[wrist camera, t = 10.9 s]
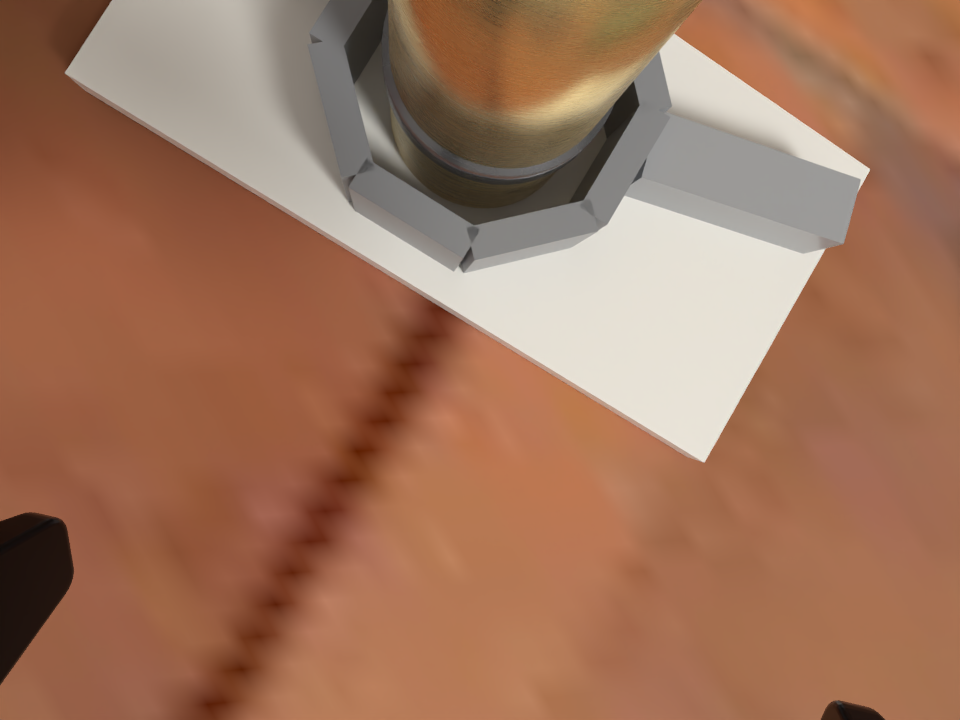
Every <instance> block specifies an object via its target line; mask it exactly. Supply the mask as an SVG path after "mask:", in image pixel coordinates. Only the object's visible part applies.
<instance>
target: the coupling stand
mask: <svg viewBox="0 0 960 720" xmlns="http://www.w3.org/2000/svg"><path fill="white" fill-rule="evenodd" d="M387 10H388V0H112V1H111V3H110V4H109V6H108V7H107V9H106V10H105V12H104V13H103V15H102V16H101V18H100V20H99V21H98V23H97V24H96V26H95V27H94V29H93V30H92V32H91V33H90V35H89V36H88V38H87V39H86V41H85V43H84V44H83V46H82V47H81V49H80V50H79V52H78V53H77V55H76V56H75V58H74V59H73V61H72V62H71V64H70V66H69V67H68V69H67V70H66V72H65V74H66V75H67V76H69V77H70V78H71V79H72V80H73V81H74V82H76V83H77V84H78V85H79V86H80V87H81V88H83V89H84V90H85V91H86V92H88V93H90V94H91V95H93V96H95V97H96V98H98V99H99V100H101V101H103V102H104V103H106V104H108V105H109V106H111V107H113V108H114V109H116V110H118V111H119V112H121V113H122V114H124V115H126V116H127V117H129V118H131V119H132V120H134V121H136V122H137V123H139V124H141V125H142V126H144V127H145V128H147V129H149V130H150V131H152V132H154V133H155V134H157V135H159V136H160V137H162V138H164V139H165V140H167V141H169V142H170V143H172V144H173V145H175V146H177V147H178V148H180V149H182V150H183V151H185V152H187V153H188V154H190V155H192V156H193V157H195V158H196V159H198V160H200V161H201V162H203V163H205V164H206V165H208V166H210V167H211V168H213V169H215V170H216V171H218V172H219V173H221V174H223V175H224V176H226V177H228V178H229V179H231V180H233V181H234V182H236V183H238V184H239V185H241V186H243V187H244V188H246V189H247V190H249V191H251V192H252V193H254V194H256V195H257V196H259V197H261V198H262V199H264V200H266V201H267V202H269V203H270V204H272V205H274V206H275V207H277V208H279V209H280V210H282V211H284V212H285V213H287V214H289V215H290V216H292V217H293V218H295V219H297V220H298V221H300V222H302V223H303V224H305V225H307V226H308V227H310V228H312V229H313V230H315V231H317V232H318V233H320V234H321V235H323V236H325V237H326V238H328V239H330V240H331V241H333V242H335V243H336V244H338V245H340V246H341V247H343V248H344V249H346V250H348V251H349V252H351V253H353V254H354V255H356V256H358V257H359V258H361V259H363V260H364V261H366V262H367V263H369V264H371V265H372V266H374V267H376V268H377V269H379V270H381V271H382V272H384V273H386V274H387V275H389V276H390V277H392V278H394V279H395V280H397V281H399V282H400V283H402V284H404V285H405V286H407V287H409V288H410V289H412V290H414V291H415V292H417V293H418V294H420V295H422V296H423V297H425V298H427V299H428V300H430V301H432V302H433V303H435V304H437V305H438V306H440V307H441V308H443V309H445V310H446V311H448V312H450V313H451V314H453V315H455V316H456V317H458V318H460V319H461V320H463V321H464V322H466V323H468V324H469V325H471V326H473V327H474V328H476V329H478V330H479V331H481V332H483V333H484V334H486V335H488V336H489V337H491V338H492V339H494V340H496V341H497V342H499V343H501V344H502V345H504V346H506V347H507V348H509V349H511V350H512V351H514V352H515V353H517V354H519V355H520V356H522V357H524V358H525V359H527V360H529V361H530V362H532V363H534V364H535V365H537V366H538V367H540V368H542V369H543V370H545V371H547V372H548V373H550V374H552V375H553V376H555V377H557V378H558V379H560V380H562V381H563V382H565V383H566V384H568V385H570V386H571V387H573V388H575V389H576V390H578V391H580V392H581V393H583V394H585V395H586V396H588V397H589V398H591V399H593V400H594V401H596V402H598V403H599V404H601V405H603V406H604V407H606V408H608V409H609V410H611V411H612V412H614V413H616V414H617V415H619V416H621V417H622V418H624V419H626V420H627V421H629V422H631V423H632V424H634V425H636V426H637V427H639V428H640V429H642V430H644V431H645V432H647V433H649V434H650V435H652V436H654V437H655V438H657V439H659V440H660V441H662V442H663V443H665V444H667V445H668V446H670V447H672V448H673V449H675V450H677V451H678V452H680V453H682V454H683V455H685V456H687V457H689V458H692V459H695V460H698V461H701V462H705V460H706V459H707V457H708V455H709V453H710V452H711V450H712V448H713V446H714V445H715V443H716V441H717V439H718V437H719V436H720V434H721V432H722V430H723V429H724V427H725V425H726V423H727V422H728V420H729V418H730V416H731V415H732V413H733V411H734V409H735V407H736V406H737V404H738V402H739V400H740V399H741V397H742V395H743V393H744V392H745V390H746V388H747V386H748V385H749V383H750V381H751V379H752V377H753V376H754V374H755V372H756V370H757V369H758V367H759V365H760V363H761V362H762V360H763V358H764V356H765V355H766V353H767V351H768V349H769V347H770V346H771V344H772V342H773V340H774V339H775V337H776V335H777V333H778V332H779V330H780V328H781V326H782V325H783V323H784V321H785V319H786V317H787V316H788V314H789V312H790V310H791V309H792V307H793V305H794V303H795V302H796V300H797V298H798V296H799V295H800V293H801V291H802V289H803V287H804V286H805V284H806V282H807V280H808V279H809V277H810V275H811V273H812V272H813V270H814V268H815V266H816V265H817V263H818V261H819V259H820V257H821V256H822V254H823V252H824V250H825V249H826V248H829V247H833V246H837V245H841V244H844V240H845V237H846V233H847V229H848V226H849V222H850V218H851V215H852V211H853V207H854V203H855V200H856V196H857V192H858V190H859V189H860V187H861V185H862V183H863V182H864V180H865V178H866V176H867V175H868V173H869V171H870V169H869V168H868V167H866V166H865V165H863V164H862V163H860V162H859V161H857V160H856V159H854V158H853V157H852V156H850V155H849V154H847V153H846V152H844V151H843V150H841V149H840V148H839V147H837V146H836V145H834V144H833V143H831V142H830V141H828V140H827V139H826V138H824V137H823V136H821V135H820V134H818V133H817V132H815V131H814V130H812V129H811V128H810V127H808V126H807V125H805V124H804V123H802V122H801V121H799V120H798V119H797V118H795V117H794V116H792V115H791V114H789V113H788V112H786V111H785V110H784V109H782V108H781V107H779V106H778V105H776V104H775V103H773V102H772V101H771V100H769V99H768V98H766V97H765V96H763V95H762V94H760V93H759V92H757V91H756V90H755V89H753V88H752V87H750V86H749V85H747V84H746V83H744V82H743V81H742V80H740V79H739V78H737V77H736V76H734V75H733V74H731V73H730V72H729V71H727V70H726V69H724V68H723V67H721V66H720V65H718V64H717V63H716V62H714V61H713V60H711V59H710V58H708V57H707V56H705V55H704V54H702V53H701V52H700V51H698V50H697V49H695V48H694V47H692V46H691V45H689V44H688V43H687V42H685V41H684V40H682V39H681V38H679V37H678V36H676V35H675V34H673V35H672V37H671V38H670V39H669V40H668V41H667V42H666V44H665V45H664V46H663V47H662V48H661V49H660V51H659V52H658V53H657V54H656V55H655V56H654V58H653V59H652V60H651V61H650V62H649V64H648V65H647V66H646V67H645V68H644V69H643V71H642V72H641V73H640V74H639V75H638V76H637V78H636V79H635V80H634V81H633V82H632V83H631V85H630V86H629V87H628V88H627V89H626V90H625V92H624V93H623V94H622V95H621V96H620V97H619V99H618V100H617V101H616V102H615V104H614V106H613V109H612V111H611V113H610V115H609V117H608V119H607V120H606V122H605V124H604V126H603V127H602V128H601V129H600V131H599V132H598V133H597V135H596V136H595V137H594V138H593V140H592V141H591V142H590V143H589V144H588V145H587V146H586V147H585V148H584V149H583V150H582V151H581V152H580V153H579V154H578V155H577V156H576V157H575V158H574V159H573V160H572V161H571V162H569V163H568V164H567V165H565V166H564V167H563V168H561V169H559V170H557V171H556V172H555V174H554V175H553V176H552V177H551V178H550V179H549V180H548V181H547V182H546V183H545V184H544V185H543V186H542V187H541V188H540V189H539V190H537V191H536V192H535V193H533V194H532V195H530V196H529V197H527V198H525V199H523V200H521V201H519V202H516V203H514V204H511V205H507V206H503V207H497V208H473V207H466V206H462V205H459V204H455V203H452V202H450V201H448V200H446V199H443V198H441V197H440V196H438V195H436V194H435V193H433V192H432V191H430V190H429V189H428V188H426V187H425V186H424V185H423V184H422V183H421V182H420V181H419V180H418V179H417V178H416V177H415V176H414V175H413V174H412V173H411V171H410V170H409V169H408V167H407V166H406V164H405V163H404V161H403V159H402V157H401V156H400V154H399V151H398V149H397V146H396V144H395V141H394V137H393V133H392V127H391V120H390V103H389V100H388V97H387V93H386V89H385V84H384V77H383V67H382V35H383V27H384V21H385V17H386V14H387Z"/></svg>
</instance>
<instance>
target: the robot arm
mask: <svg viewBox="0 0 960 720" xmlns="http://www.w3.org/2000/svg"><path fill="white" fill-rule="evenodd" d="M73 574H74V567H73V561H72V555H71V549H70V543H69V537H68V531H67V527H66V525H65V523H64V522H63V521H62V520H61V519H59V518H56V517H52V516H48V515H43V514H39V513H32V512H29V513H24V514H20V515H17V516H14V517H12V518H9V519H6V520H3V521H0V685H1V683H2V682H3V681H4V679H5V678H6V676H7V675H8V674H9V672H10V671H11V669H12V668H13V667H14V665H15V664H16V662H17V661H18V660H19V658H20V657H21V655H22V654H23V653H24V651H25V650H26V648H27V647H28V646H29V644H30V643H31V641H32V640H33V639H34V637H35V636H36V634H37V633H38V632H39V630H40V629H41V627H42V626H43V625H44V623H45V622H46V620H47V619H48V618H49V616H50V615H51V613H52V612H53V611H54V609H55V608H56V606H57V605H58V604H59V602H60V601H61V599H62V598H63V597H64V595H65V594H66V592H67V591H68V589H69V587H70V585H71V582H72V579H73ZM821 720H885V719H884V718H883V717H882V716H881V715H880V714H879V713H878V712H876V711H875V710H873V709H871V708H869V707H865V706H861V705H856V704H852V703H848V702H844V701H833V702H831V703H830V704H829V705H828V706H827V708H826V709H825V711H824V714H823V716H822V718H821Z"/></svg>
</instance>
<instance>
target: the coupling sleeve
mask: <svg viewBox="0 0 960 720" xmlns="http://www.w3.org/2000/svg"><path fill="white" fill-rule="evenodd" d="M701 1H702V0H388V10H387V14H386V17H385V21H384V27H383V35H382V67H383V77H384V84H385V89H386V93H387V97H388V100H389V103H390V120H391V127H392V133H393V137H394V141H395V144H396V146H397V149H398V151H399V154H400V156H401V157H402V159H403V161H404V163H405V164H406V166H407V167H408V169H409V170H410V171H411V173H412V174H413V175H414V176H415V177H416V178H417V179H418V180H419V181H420V182H421V183H422V184H423V185H424V186H425V187H426V188H428V189H429V190H430V191H432V192H433V193H435V194H436V195H438V196H440V197H441V198H443V199H446V200H448V201H450V202H452V203H455V204H459V205H462V206H466V207H473V208H497V207H503V206H507V205H511V204H514V203H516V202H519V201H521V200H523V199H525V198H527V197H529V196H530V195H532V194H533V193H535V192H536V191H537V190H539V189H540V188H541V187H542V186H543V185H544V184H545V183H546V182H547V181H548V180H549V179H550V178H551V177H552V176H553V175H554V174H555V172H556V171H557V170H559V169H561V168H563V167H564V166H565V165H567V164H568V163H569V162H571V161H572V160H573V159H574V158H575V157H576V156H577V155H578V154H579V153H580V152H581V151H582V150H583V149H584V148H585V147H586V146H587V145H588V144H589V143H590V142H591V141H592V140H593V138H594V137H595V136H596V135H597V133H598V132H599V131H600V129H601V128H602V127H603V126H604V124H605V122H606V120H607V119H608V117H609V115H610V113H611V111H612V109H613V106H614V104H615V102H616V101H617V100H618V99H619V97H620V96H621V95H622V94H623V93H624V92H625V90H626V89H627V88H628V87H629V86H630V85H631V83H632V82H633V81H634V80H635V79H636V78H637V76H638V75H639V74H640V73H641V72H642V71H643V69H644V68H645V67H646V66H647V65H648V64H649V62H650V61H651V60H652V59H653V58H654V56H655V55H656V54H657V53H658V52H659V51H660V49H661V48H662V47H663V46H664V45H665V44H666V42H667V41H668V40H669V39H670V38H671V37H672V35H673V34H674V33H675V32H676V31H677V30H678V28H679V27H680V26H681V25H682V24H683V22H684V21H685V20H686V19H687V18H688V17H689V15H690V14H691V13H692V12H693V11H694V10H695V8H696V7H697V6H698V5H699V4H700V3H701Z"/></svg>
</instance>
